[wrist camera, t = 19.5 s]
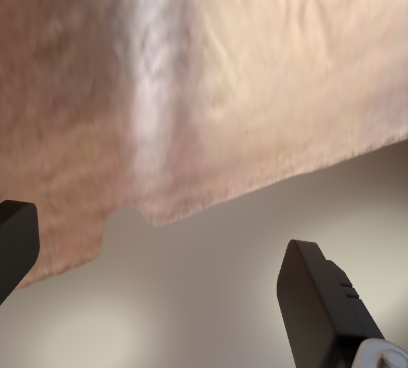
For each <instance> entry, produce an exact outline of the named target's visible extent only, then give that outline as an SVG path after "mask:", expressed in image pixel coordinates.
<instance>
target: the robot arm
mask: <svg viewBox="0 0 408 368" xmlns="http://www.w3.org/2000/svg"><path fill="white" fill-rule="evenodd" d="M39 249H40V243H39V230H38V217H37V208H36V206H35V204H33V203H28V202H21V201H14V200H5V201H3V202H2V203H0V305H1V304H2V303H3V302H4V300H5V299H6V298H7V296H9V294H10V293H11V292H12V291H13V290H14V288H15V287H16V286H17V285H18V284H19V282H20V281H21V280H22V279H23V278H24V276H25V275H26V274H27V273H28V272H29V270H30V269H31V268H32V267H33V265H34V264H35V262H36V260H37V257H38V254H39ZM277 298H278V302H279V306H280V309H281V313H282V317H283V321H284V324H285V328H286V332H287V335H288V339H289V343H290V346H291V350H292V354H293V357H294V361H295V365H296V368H408V352H407V351H406V350H405V349H403V348H401V347H400V346H398V345H396V344H394V343H392V342H389V341H386V340H385V338H384V337H383V335H382V333H381V332H380V330H379V328H378V327H377V325H376V323H375V322H374V320H373V318H372V317H371V315H370V313H369V312H368V310H367V309H366V307H365V305H364V303H363V302H362V300H361V299H359V295H358V294H357V292H356V290H355V289H354V288H352V284H351V282H350V280H349V279H348V277H347V276H346V274H345V272H344V271H342V270H341V269H340V268H339V267H338V266H337V265H336V264H335V263H334V262H332V261H331V260H326V259H325V257H324V255H323V253H322V252H321V250H320V248H319V246H318V245H317V243H314V242H308V241H301V240H290V242H289V244H288V246H287V249H286V253H285V257H284V259H283V263H282V266H281V269H280V273H279V276H278V280H277Z"/></svg>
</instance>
